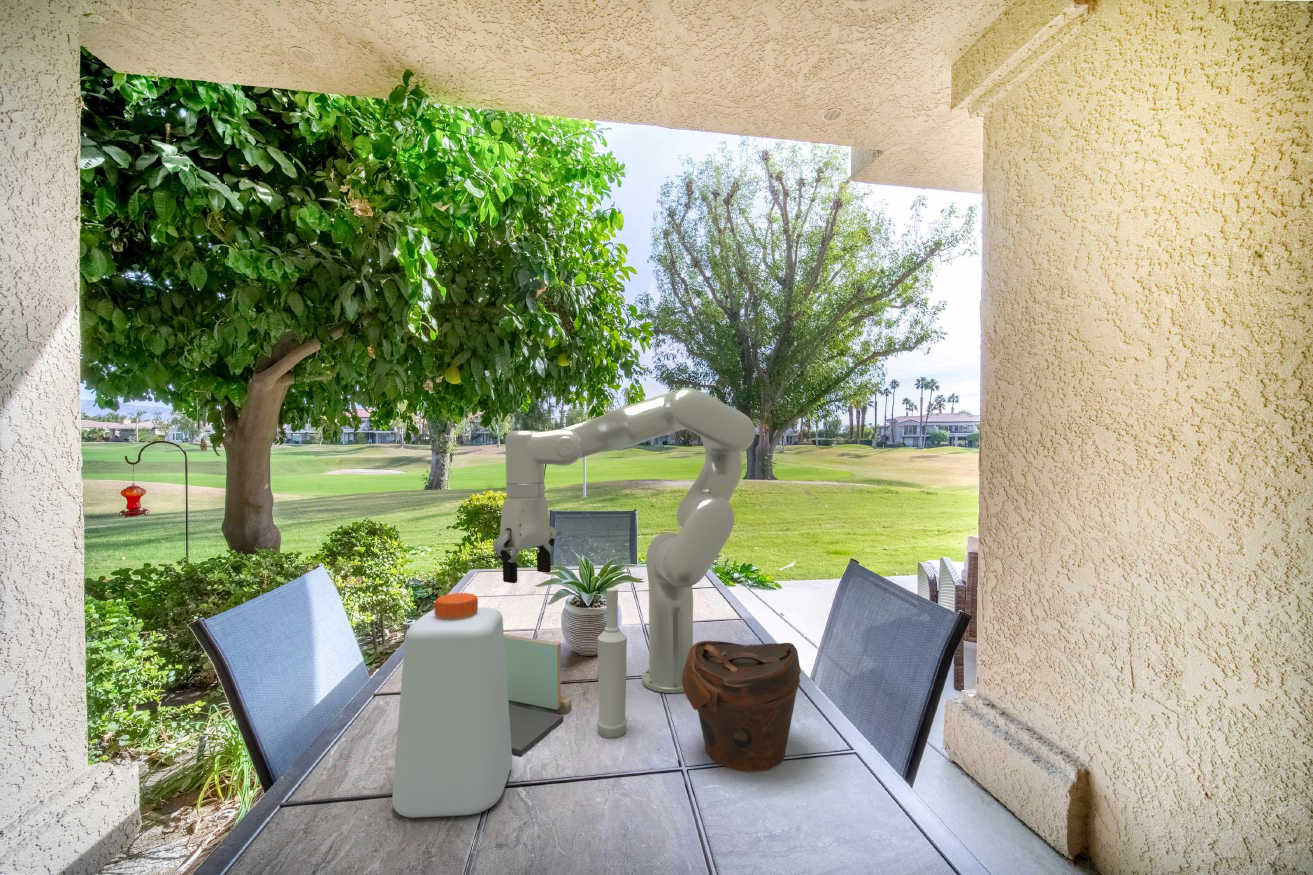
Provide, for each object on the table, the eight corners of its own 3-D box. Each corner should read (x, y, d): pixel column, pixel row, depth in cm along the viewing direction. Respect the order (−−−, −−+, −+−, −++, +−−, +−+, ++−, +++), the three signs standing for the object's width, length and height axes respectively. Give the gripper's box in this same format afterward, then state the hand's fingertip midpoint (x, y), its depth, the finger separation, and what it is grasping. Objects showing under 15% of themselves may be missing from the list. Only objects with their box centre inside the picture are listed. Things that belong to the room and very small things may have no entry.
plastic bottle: (420, 762, 91) (421, 586, 92) (516, 758, 92) (516, 584, 93) (382, 824, 76) (383, 613, 77) (497, 818, 77) (497, 610, 78)
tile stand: (571, 709, 109) (571, 698, 109) (561, 717, 106) (561, 705, 106) (502, 696, 115) (502, 685, 115) (491, 703, 112) (491, 691, 112)
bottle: (631, 726, 102) (630, 587, 103) (620, 740, 98) (619, 593, 98) (604, 722, 104) (604, 584, 105) (592, 735, 99) (592, 591, 100)
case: (664, 736, 99) (665, 632, 99) (763, 716, 106) (764, 620, 106) (712, 796, 82) (713, 672, 82) (825, 768, 90) (826, 654, 90)
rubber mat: (563, 720, 105) (563, 715, 105) (521, 756, 93) (521, 750, 93) (484, 704, 112) (484, 699, 112) (435, 735, 100) (435, 729, 100)
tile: (499, 694, 113) (499, 633, 113) (560, 706, 108) (560, 642, 108) (495, 697, 112) (496, 635, 112) (557, 709, 106) (557, 644, 107)
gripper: (540, 488, 124) (542, 566, 124) (479, 495, 109) (481, 584, 109) (567, 488, 120) (569, 569, 120) (508, 496, 105) (510, 588, 105)
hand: (527, 576), depth 115 cm, fingers open, 9 cm apart
